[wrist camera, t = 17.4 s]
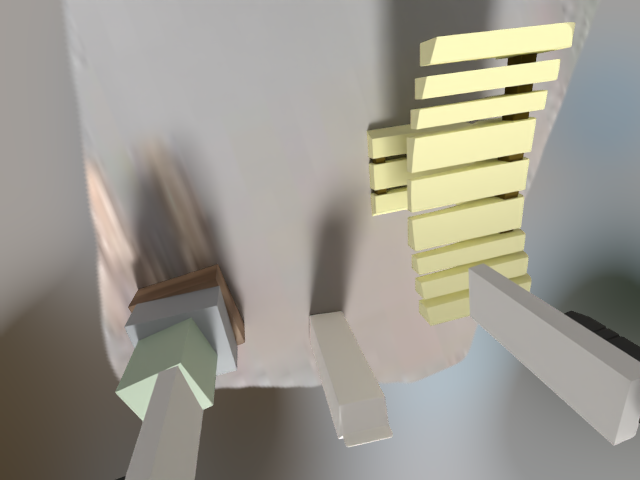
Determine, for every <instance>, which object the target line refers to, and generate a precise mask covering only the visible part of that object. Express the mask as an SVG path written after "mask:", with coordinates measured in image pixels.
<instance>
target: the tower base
mask: <svg viewBox="0 0 640 480" xmlns="http://www.w3.org/2000/svg"><path fill="white" fill-rule="evenodd" d="M216 286H220V289H221V292H222V296H223V299H224V303H225V306H226V309H227V313H228V316H229V319H230V323H231V326H232V329H233V333H234V336H235V340H236V343H237V345H240V344H243V343H245V330H244V322H243V320H242V318H241V316H240V313H239V311H238V309H237V307H236V304H235V302H234V300H233V297H232V295H231V293H230V291H229V288H228V286H227V284H226V282H225V279H224V277H223V275H222V272H221V270H220V268H219V266H218V264H217V265H213V266H210V267H207V268H204V269H201V270H198V271H195V272H192V273H189V274H185V275H182V276H179V277H176V278H173V279H170V280H167V281H164V282H161V283H157V284H154V285H151V286H148V287H145V288H142V289H139V290H138V291H137V293H136V294H135V296H134V298H133V300H132V301H131V303H130V305H129V307H128V308H129V309H130V311H131V313H132V312H133V310H134V308H135V306H136V304H139V303H144V302H148V301H153V300H157V299H162V298H166V297H171V296H175V295H180V294H184V293H189V292H193V291H198V290H202V289H207V288H211V287H216Z"/></svg>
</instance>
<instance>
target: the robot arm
mask: <svg viewBox="0 0 640 480" xmlns="http://www.w3.org/2000/svg"><path fill="white" fill-rule="evenodd" d="M469 304H470V317H472V318H473V319H474V320H475V321H476V322H477V323H478V324H479V325H480V326H482V327H483V328H484V329H485V330H486V331H487V332H488V333H489V334H491V335H492V336H493V337H494V338H495V339H496V340H497V341H498V342H499V343H500V344H502V345H503V346H504V347H505V348H506V349H507V350H508V351H509V352H510V353H512V354H513V355H514V356H515V357H516V358H517V359H518V360H519V361H520V362H522V363H523V364H524V365H525V366H526V367H527V368H528V369H529V370H530V371H531V372H533V373H534V374H535V375H536V376H537V377H539V379H540V380H542V381H543V382H544V383H545V384H546V385H547V386H548V387H549V388H550V389H552V390H553V391H554V392H555V393H556V394H557V395H558V396H559V397H560V398H562V399H563V400H564V401H565V402H566V403H567V404H568V405H569V406H570V407H572V408H573V409H574V410H575V411H576V412H577V413H578V414H579V415H581V417H583V418H584V419H585V420H586V421H587V422H588V423H589V424H590V425H591V426H593V427H594V428H595V429H596V430H597V431H598V432H599V433H600V434H601V435H603V436H604V437H605V438H606V439H607V440H608V441H609V442H610V443H612V444H613V445H616V444H619V443H621V442H623V441H625V440H628V439H630V438H632V437H635V435H636V432H637V428H638V425H639V423H640V347H639V346H638V345H636V344H634V343H633V342H631V341H629V340H628V339H626V338H624V337H620V336H619V335H618V334H617V333H616V332H614V331H612V330H610V329H607V328H606V327H605V326H604V325H602V324H601V323H599V322H597V321H596V320H594V319H592V318H590V317H588V316H585V315H582V314H579V313H576V312H574V311H569V312H567V313H564V314H563V313H562V312H560V311H558V310H557V309H555V308H554V307H552V306H551V305H549V304H547V303H546V302H544V301H542V300H541V299H539V298H538V297H536V296H534V295H533V294H532V293H530V292H528V291H527V290H525V289H524V288H522V287H520V286H519V285H517V284H516V283H514V282H513V281H511V280H509V279H508V278H506V277H505V276H503V275H501V274H500V273H498V272H497V271H495V270H494V269H492V268H490V267H489V266H487V265H486V264H484V263H483V264H480V265H477V266H474V267H471V268H469ZM202 416H203V409H202V408H201V406H200V404H199V402H198V401H197V399H196V397H195V395H194V393H193V392H192V390H191V388H190V386H189V385H188V383H187V381H186V379H185V378H184V376H183V374H182V372H181V370H180V369H179V367H178V366H176V367H173V368H170V369H167V370H164V371H161V372H159V373H158V376H157V379H156V382H155V386H154V389H153V392H152V395H151V398H150V401H149V405H148V408H147V411H146V414H145V417H144V420H143V424H142V427H141V430H140V433H139V436H138V440H137V443H136V446H135V449H134V452H133V455H132V458H131V462H130V465H129V468H128V471H127V474H126V476H125V477H122V478H119V479H117V480H194V478H195V471H196V462H197V454H198V448H199V440H200V432H201V424H202Z"/></svg>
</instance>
